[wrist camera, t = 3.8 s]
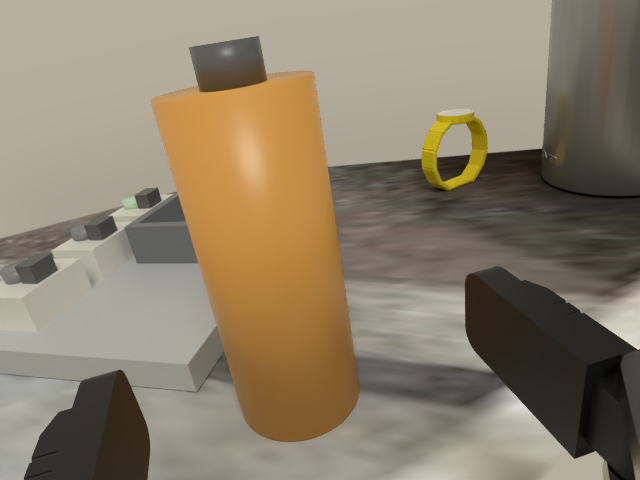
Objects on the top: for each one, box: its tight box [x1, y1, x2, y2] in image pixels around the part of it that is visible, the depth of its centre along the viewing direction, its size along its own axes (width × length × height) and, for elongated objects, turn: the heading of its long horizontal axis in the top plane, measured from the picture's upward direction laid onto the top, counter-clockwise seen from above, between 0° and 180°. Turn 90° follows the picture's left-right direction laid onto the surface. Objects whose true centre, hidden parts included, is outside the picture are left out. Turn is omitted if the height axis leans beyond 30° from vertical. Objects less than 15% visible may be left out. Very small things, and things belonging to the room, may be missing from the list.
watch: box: [422, 109, 487, 191], centre depth 36 cm, size 6×3×6 cm, turn 122°
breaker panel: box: [0, 188, 224, 392], centre depth 28 cm, size 13×17×4 cm
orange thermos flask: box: [151, 36, 359, 442], centre depth 16 cm, size 5×5×13 cm
